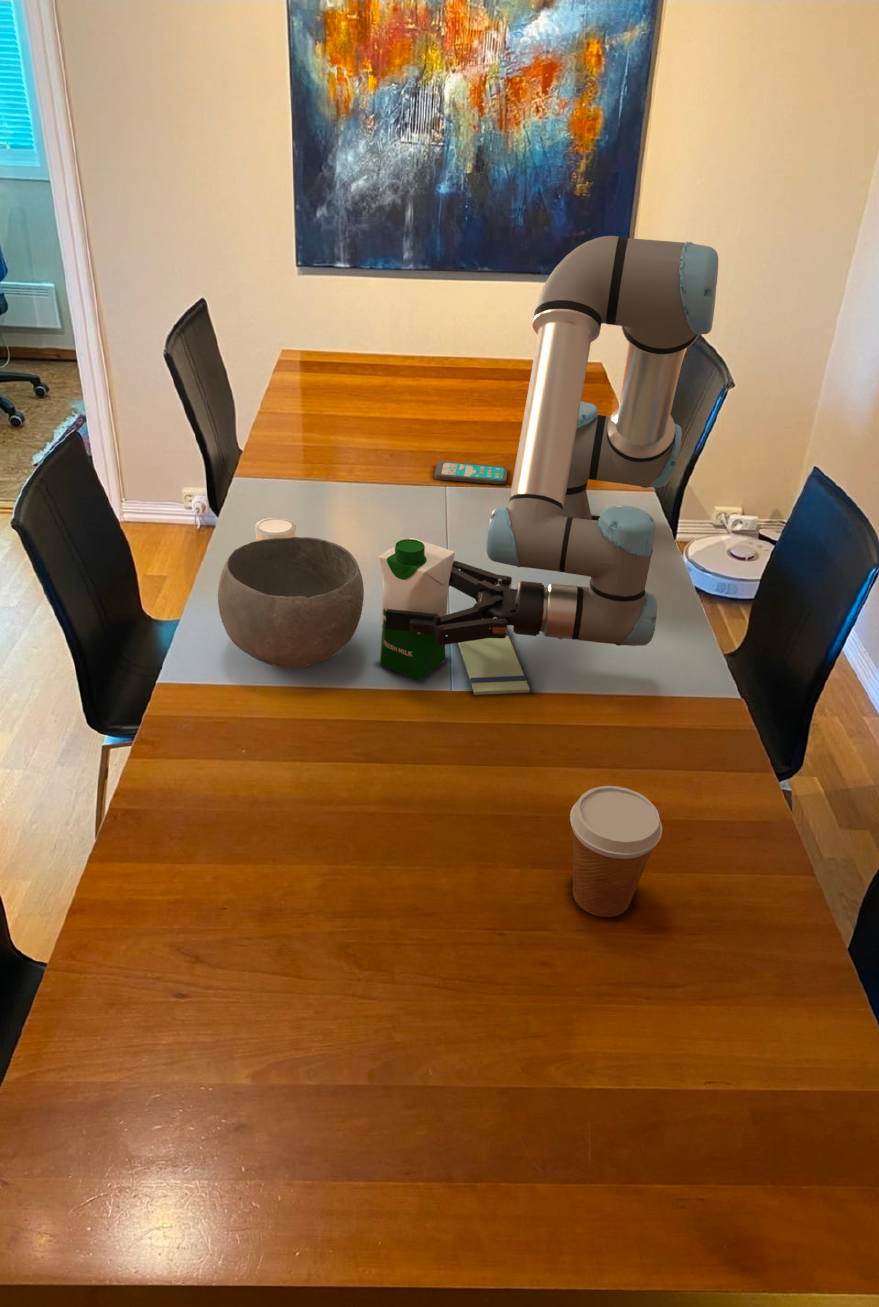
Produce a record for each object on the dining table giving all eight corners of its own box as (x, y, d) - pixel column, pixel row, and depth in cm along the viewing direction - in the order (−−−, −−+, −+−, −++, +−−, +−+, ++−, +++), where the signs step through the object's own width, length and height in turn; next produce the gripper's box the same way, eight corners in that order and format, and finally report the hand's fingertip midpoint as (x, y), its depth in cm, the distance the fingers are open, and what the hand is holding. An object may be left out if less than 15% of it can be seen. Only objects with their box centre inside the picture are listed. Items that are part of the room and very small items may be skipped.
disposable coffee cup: (550, 865, 111) (563, 783, 105) (633, 863, 112) (650, 782, 106) (567, 930, 103) (581, 846, 97) (655, 927, 104) (675, 844, 98)
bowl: (248, 704, 134) (242, 609, 126) (205, 632, 149) (197, 543, 141) (385, 672, 143) (387, 581, 135) (331, 607, 158) (331, 521, 150)
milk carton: (371, 665, 144) (373, 542, 133) (405, 640, 151) (410, 520, 140) (421, 686, 140) (427, 561, 129) (454, 658, 147) (463, 537, 136)
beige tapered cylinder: (289, 574, 166) (288, 536, 163) (250, 568, 167) (248, 531, 164) (302, 556, 172) (301, 520, 168) (264, 551, 173) (263, 514, 169)
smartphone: (437, 459, 211) (507, 465, 210) (437, 464, 212) (507, 469, 211) (434, 475, 204) (506, 480, 203) (433, 479, 204) (505, 485, 204)
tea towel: (503, 627, 155) (504, 624, 155) (529, 692, 140) (530, 688, 140) (453, 629, 154) (453, 625, 154) (474, 695, 139) (474, 691, 139)
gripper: (538, 681, 130) (378, 664, 131) (542, 591, 151) (404, 577, 152) (544, 632, 126) (380, 615, 127) (547, 547, 147) (406, 533, 148)
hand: (393, 595), depth 140 cm, fingers open, 13 cm apart
